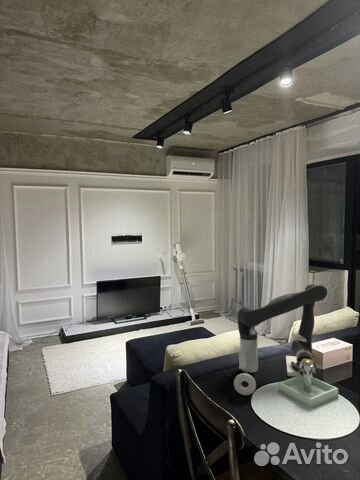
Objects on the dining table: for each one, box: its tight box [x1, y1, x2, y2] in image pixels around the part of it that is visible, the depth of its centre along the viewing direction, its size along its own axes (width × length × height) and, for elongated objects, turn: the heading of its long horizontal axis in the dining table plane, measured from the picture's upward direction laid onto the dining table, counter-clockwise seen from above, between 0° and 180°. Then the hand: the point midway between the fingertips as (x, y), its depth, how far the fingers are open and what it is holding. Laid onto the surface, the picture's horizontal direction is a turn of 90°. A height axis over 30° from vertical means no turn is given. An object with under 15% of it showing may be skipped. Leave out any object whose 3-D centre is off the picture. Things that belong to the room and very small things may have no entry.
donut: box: [233, 372, 257, 396], centre depth 149 cm, size 10×3×10 cm, turn 77°
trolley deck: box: [285, 355, 313, 377], centre depth 176 cm, size 22×12×2 cm, turn 164°
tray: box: [278, 374, 339, 409], centre depth 149 cm, size 18×18×4 cm
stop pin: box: [302, 359, 314, 392], centre depth 149 cm, size 5×5×14 cm
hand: (307, 374), depth 146 cm, fingers open, 4 cm apart
